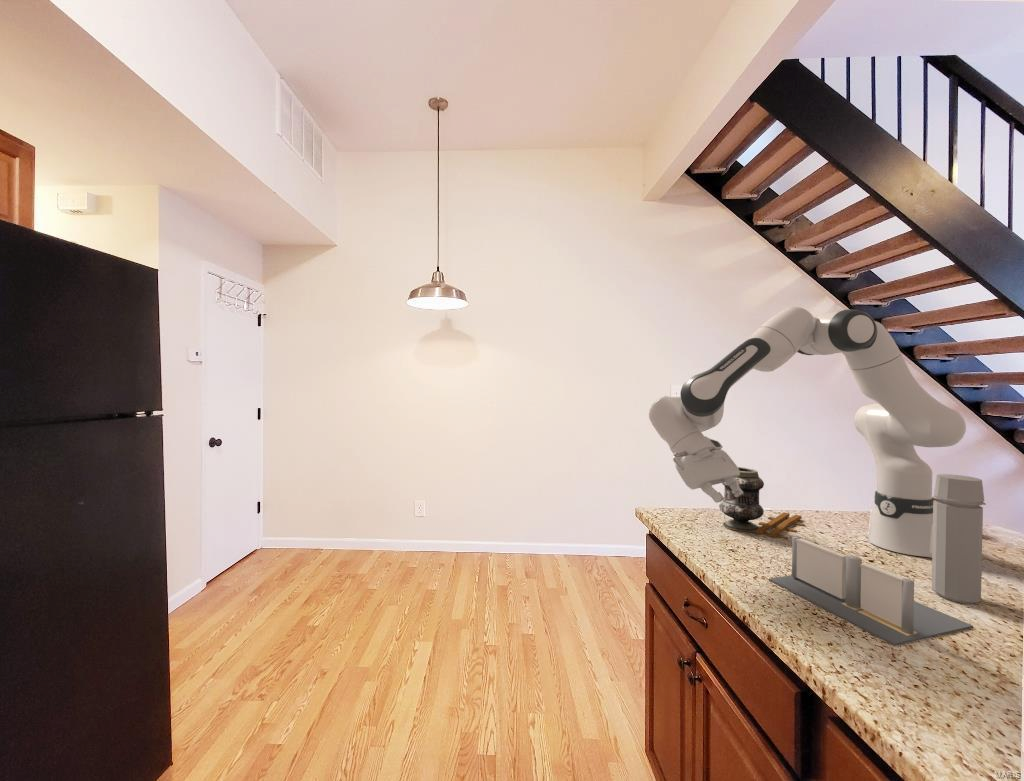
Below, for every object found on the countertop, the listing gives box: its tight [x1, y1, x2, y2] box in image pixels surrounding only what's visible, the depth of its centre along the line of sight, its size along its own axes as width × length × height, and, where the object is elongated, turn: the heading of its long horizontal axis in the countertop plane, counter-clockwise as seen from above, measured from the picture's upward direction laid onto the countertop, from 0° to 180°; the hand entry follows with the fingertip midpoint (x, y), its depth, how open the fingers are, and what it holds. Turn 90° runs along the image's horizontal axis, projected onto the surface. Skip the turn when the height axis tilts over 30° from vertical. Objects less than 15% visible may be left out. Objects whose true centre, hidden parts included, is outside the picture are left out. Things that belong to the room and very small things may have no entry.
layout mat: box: [768, 574, 974, 647], centre depth 87 cm, size 20×25×1 cm
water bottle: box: [931, 473, 987, 605], centre depth 90 cm, size 9×8×25 cm
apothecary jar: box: [718, 466, 765, 533], centre depth 132 cm, size 12×12×18 cm
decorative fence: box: [755, 512, 806, 540], centre depth 133 cm, size 25×2×10 cm
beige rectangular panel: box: [791, 536, 848, 599], centre depth 92 cm, size 2×11×9 cm, turn 16°
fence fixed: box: [845, 554, 915, 634], centre depth 80 cm, size 2×11×10 cm, turn 16°
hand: (730, 498), depth 102 cm, fingers open, 8 cm apart
